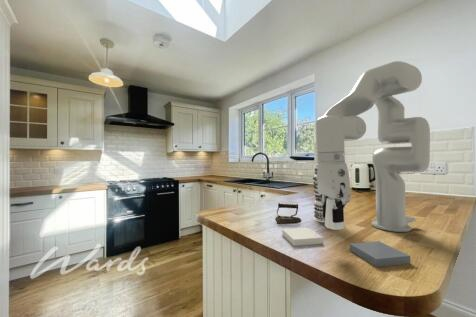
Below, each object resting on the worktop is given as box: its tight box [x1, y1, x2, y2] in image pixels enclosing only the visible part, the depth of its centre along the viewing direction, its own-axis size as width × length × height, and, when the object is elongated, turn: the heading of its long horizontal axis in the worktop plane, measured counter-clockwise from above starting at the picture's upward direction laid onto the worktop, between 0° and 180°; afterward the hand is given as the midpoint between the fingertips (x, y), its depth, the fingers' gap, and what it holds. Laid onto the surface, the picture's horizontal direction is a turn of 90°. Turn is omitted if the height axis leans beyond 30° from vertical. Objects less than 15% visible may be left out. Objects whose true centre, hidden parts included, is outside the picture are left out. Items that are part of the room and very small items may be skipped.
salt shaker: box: [324, 197, 345, 231], centre depth 63 cm, size 5×5×11 cm
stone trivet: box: [281, 227, 324, 247], centre depth 73 cm, size 10×10×2 cm
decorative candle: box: [312, 163, 325, 224], centre depth 95 cm, size 9×9×25 cm
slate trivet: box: [349, 240, 411, 268], centre depth 59 cm, size 10×10×2 cm
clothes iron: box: [275, 202, 302, 225], centre depth 94 cm, size 7×11×10 cm, turn 89°
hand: (333, 218), depth 63 cm, fingers closed on salt shaker, 4 cm apart
